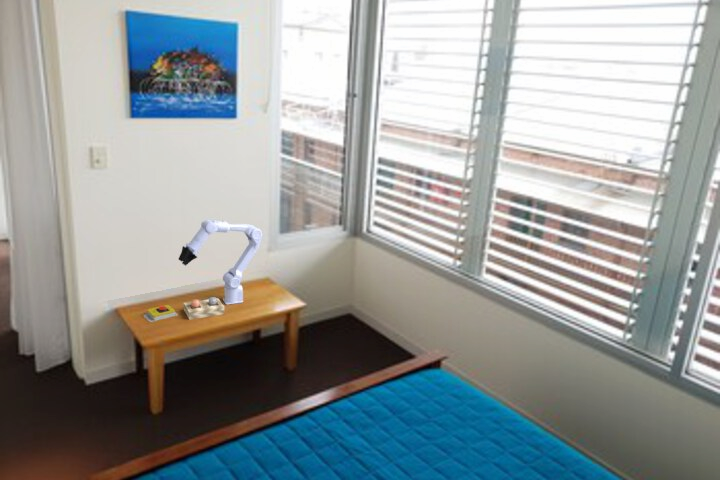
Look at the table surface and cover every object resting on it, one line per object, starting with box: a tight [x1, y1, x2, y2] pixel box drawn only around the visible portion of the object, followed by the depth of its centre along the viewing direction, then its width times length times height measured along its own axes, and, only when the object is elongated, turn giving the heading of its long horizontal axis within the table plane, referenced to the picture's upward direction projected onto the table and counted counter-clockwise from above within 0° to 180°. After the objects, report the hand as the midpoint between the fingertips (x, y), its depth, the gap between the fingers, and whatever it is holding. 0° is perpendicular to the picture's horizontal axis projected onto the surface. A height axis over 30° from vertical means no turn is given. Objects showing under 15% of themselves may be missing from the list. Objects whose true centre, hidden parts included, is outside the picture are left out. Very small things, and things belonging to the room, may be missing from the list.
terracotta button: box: [190, 298, 200, 309], centre depth 291 cm, size 4×4×4 cm
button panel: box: [183, 297, 226, 320], centre depth 294 cm, size 18×12×4 cm, turn 119°
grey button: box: [208, 296, 218, 306], centre depth 295 cm, size 4×4×4 cm
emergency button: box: [143, 304, 179, 323], centre depth 287 cm, size 9×4×15 cm
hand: (181, 262), depth 286 cm, fingers open, 7 cm apart
